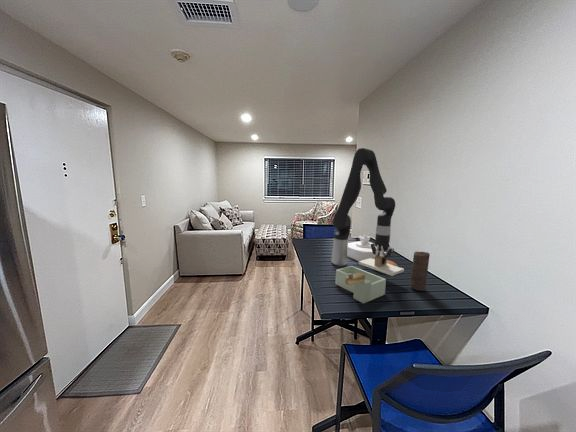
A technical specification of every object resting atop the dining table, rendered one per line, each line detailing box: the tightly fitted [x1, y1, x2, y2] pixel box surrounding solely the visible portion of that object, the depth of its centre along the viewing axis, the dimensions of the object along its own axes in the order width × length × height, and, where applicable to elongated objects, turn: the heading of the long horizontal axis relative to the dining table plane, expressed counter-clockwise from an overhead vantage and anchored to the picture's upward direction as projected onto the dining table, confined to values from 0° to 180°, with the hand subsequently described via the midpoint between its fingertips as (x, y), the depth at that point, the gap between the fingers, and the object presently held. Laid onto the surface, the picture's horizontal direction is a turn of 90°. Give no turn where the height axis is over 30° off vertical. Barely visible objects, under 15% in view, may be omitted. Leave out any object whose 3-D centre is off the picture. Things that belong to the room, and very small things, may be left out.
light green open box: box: [334, 265, 387, 305], centre depth 129 cm, size 22×16×10 cm
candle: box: [409, 251, 431, 291], centre depth 131 cm, size 8×7×20 cm
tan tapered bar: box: [345, 273, 365, 286], centre depth 115 cm, size 3×10×4 cm, turn 126°
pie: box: [387, 259, 399, 267], centre depth 160 cm, size 16×16×5 cm
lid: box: [357, 255, 405, 277], centre depth 143 cm, size 22×11×6 cm, turn 36°
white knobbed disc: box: [347, 234, 382, 262], centre depth 185 cm, size 25×25×16 cm
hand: (380, 263), depth 143 cm, fingers closed on lid, 3 cm apart
